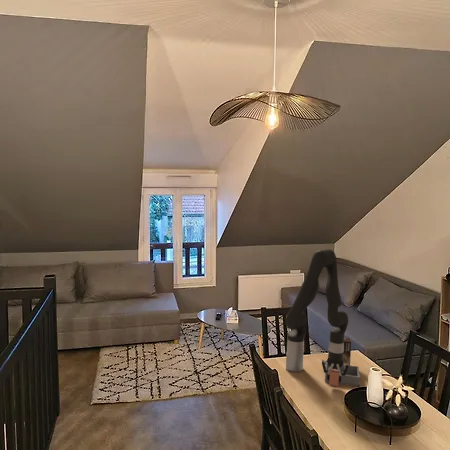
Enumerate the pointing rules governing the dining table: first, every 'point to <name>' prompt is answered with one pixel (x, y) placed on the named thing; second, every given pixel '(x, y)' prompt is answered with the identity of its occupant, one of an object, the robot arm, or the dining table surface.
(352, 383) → the tote
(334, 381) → the juice box
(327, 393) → the dining table surface
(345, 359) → the coffee box
